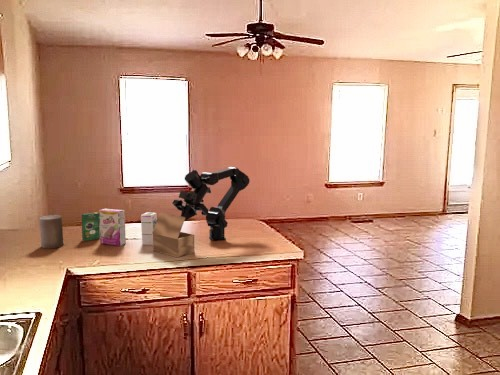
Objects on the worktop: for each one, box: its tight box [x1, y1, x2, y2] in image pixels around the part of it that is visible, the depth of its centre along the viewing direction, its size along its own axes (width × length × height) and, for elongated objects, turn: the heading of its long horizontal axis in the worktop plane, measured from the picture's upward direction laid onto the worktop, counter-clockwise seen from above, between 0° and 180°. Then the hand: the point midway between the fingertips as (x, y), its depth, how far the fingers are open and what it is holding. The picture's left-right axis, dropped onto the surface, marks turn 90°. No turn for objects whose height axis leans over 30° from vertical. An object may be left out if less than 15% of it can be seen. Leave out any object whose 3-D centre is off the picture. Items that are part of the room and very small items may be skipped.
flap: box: [152, 211, 186, 239], centre depth 215 cm, size 10×16×1 cm
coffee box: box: [81, 211, 100, 242], centre depth 239 cm, size 8×3×13 cm, turn 129°
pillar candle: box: [39, 213, 64, 249], centre depth 227 cm, size 10×10×15 cm
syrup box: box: [140, 211, 158, 246], centre depth 232 cm, size 6×6×14 cm
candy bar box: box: [98, 208, 127, 247], centre depth 230 cm, size 11×5×16 cm, turn 71°
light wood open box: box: [152, 231, 196, 258], centre depth 219 cm, size 10×16×8 cm, turn 51°
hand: (180, 222), depth 221 cm, fingers closed
